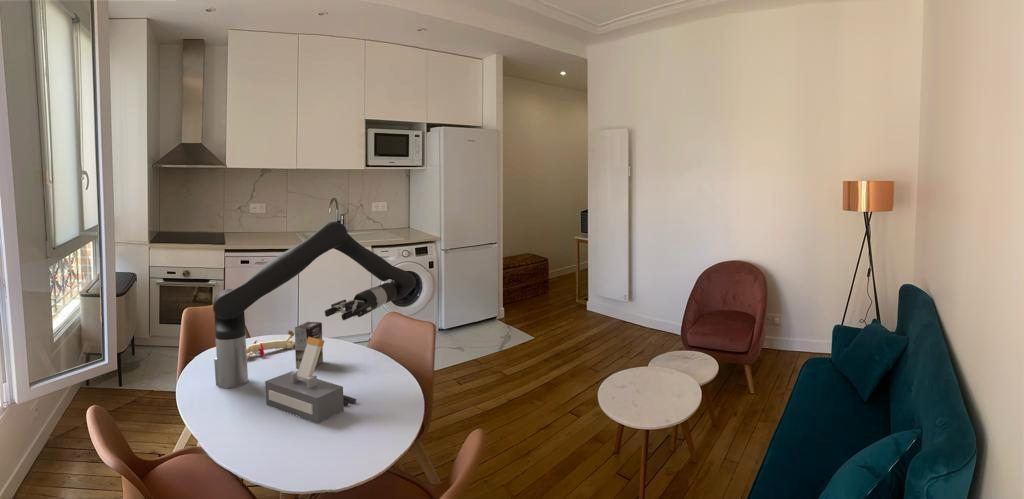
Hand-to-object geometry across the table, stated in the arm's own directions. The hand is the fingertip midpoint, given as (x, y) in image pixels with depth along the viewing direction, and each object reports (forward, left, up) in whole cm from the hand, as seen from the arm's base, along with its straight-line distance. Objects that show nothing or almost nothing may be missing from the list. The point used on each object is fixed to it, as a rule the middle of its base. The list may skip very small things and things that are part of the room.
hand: (333, 315), depth 172 cm
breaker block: (-3, -9, -27) cm, 29 cm away
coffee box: (-23, +22, -28) cm, 42 cm away
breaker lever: (-4, -12, -18) cm, 22 cm away
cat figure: (-48, +29, -28) cm, 63 cm away
